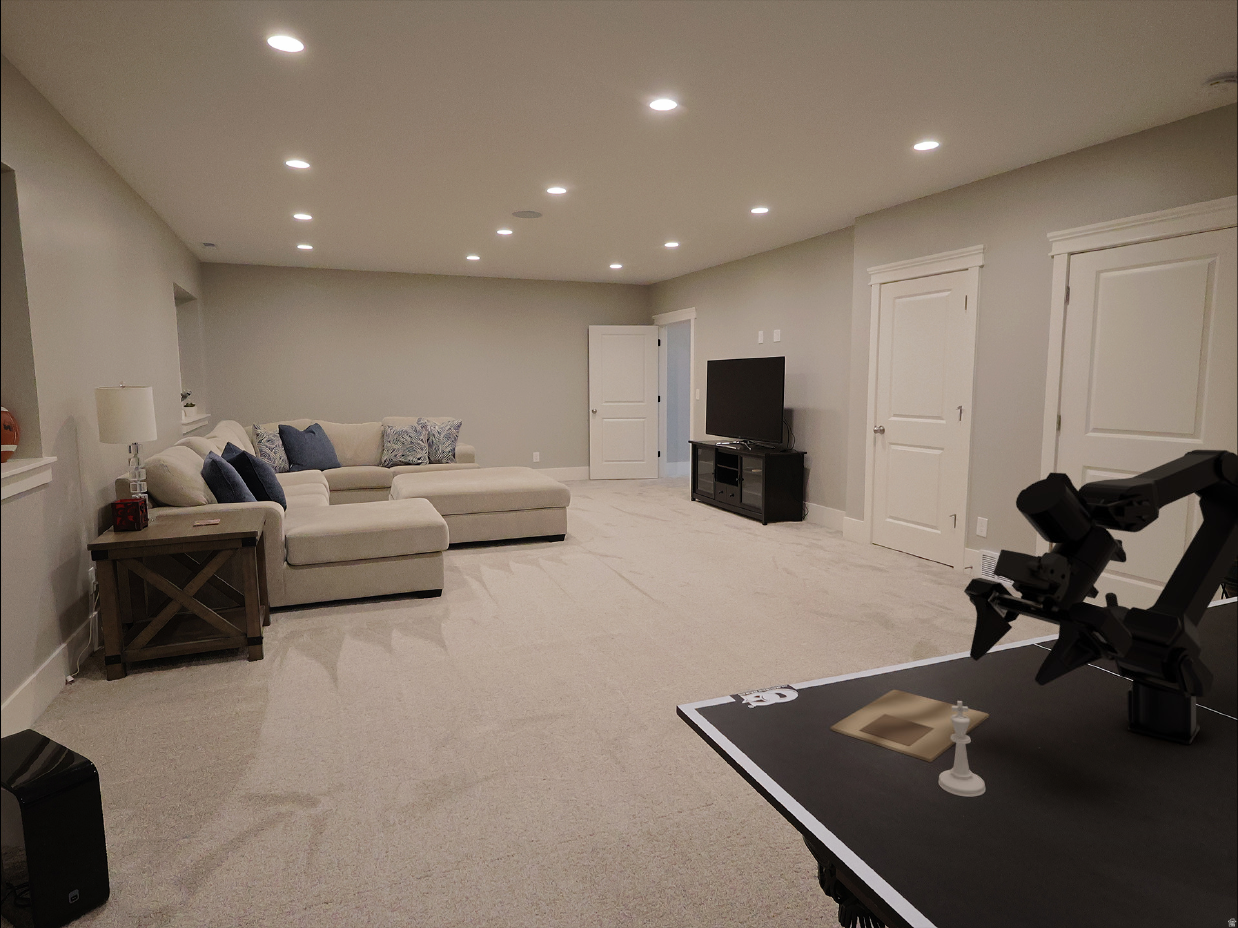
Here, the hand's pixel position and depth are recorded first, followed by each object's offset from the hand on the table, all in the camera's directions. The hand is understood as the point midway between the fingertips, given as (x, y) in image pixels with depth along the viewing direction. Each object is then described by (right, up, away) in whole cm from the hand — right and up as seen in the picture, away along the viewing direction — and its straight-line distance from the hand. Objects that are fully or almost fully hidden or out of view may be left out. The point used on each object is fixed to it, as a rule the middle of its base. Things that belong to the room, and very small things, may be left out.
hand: (1003, 670), depth 85 cm
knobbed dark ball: (+40, -8, +38) cm, 56 cm away
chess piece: (-6, -13, -1) cm, 14 cm away
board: (-5, -12, +16) cm, 20 cm away
